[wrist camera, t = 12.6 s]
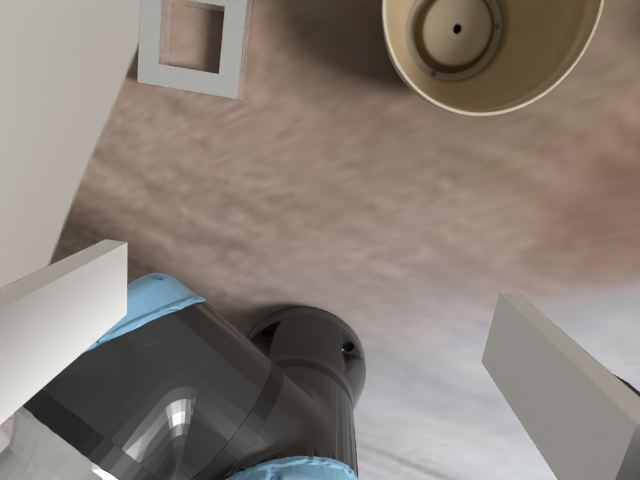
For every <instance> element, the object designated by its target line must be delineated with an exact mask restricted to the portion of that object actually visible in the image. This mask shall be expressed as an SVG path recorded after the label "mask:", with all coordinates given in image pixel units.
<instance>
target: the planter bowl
mask: <svg viewBox="0 0 640 480" xmlns="http://www.w3.org/2000/svg"><path fill="white" fill-rule="evenodd" d="M603 2H604V0H382V26H383V33H384V39H385V44H386V48H387V51H388V54H389V57H390V60H391V62H392V64H393V66H394V68H395V70H396V71H397V73H398V75H399V76H400V78H401V79H402V80H403V82H404V83H405V84H406V85H407V86H408V87H409V88H410V89H411V90H412V91H413V92H414V93H415V94H417V95H418V96H419V97H421V98H422V99H424V100H425V101H427V102H429V103H431V104H433V105H435V106H437V107H439V108H441V109H444V110H446V111H449V112H453V113H457V114H461V115H469V116H489V115H496V114H502V113H506V112H510V111H513V110H516V109H518V108H521V107H523V106H525V105H528V104H530V103H532V102H533V101H535V100H537V99H539V98H540V97H542V96H543V95H545V94H546V93H548V92H549V91H550V90H551V89H553V88H554V87H555V86H556V85H557V84H558V83H560V82H561V81H562V80H563V79H564V78H565V76H566V75H567V74H568V73H569V72H570V71H571V70H572V69H573V67H574V66H575V65H576V63H577V62H578V61H579V59H580V58H581V56H582V55H583V53H584V52H585V50H586V48H587V46H588V45H589V43H590V41H591V39H592V37H593V34H594V32H595V29H596V27H597V24H598V21H599V18H600V15H601V11H602V6H603ZM455 25H460V27H461V30H460V32H459V33H454V27H455Z"/></svg>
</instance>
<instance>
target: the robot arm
mask: <svg viewBox="0 0 640 480" xmlns="http://www.w3.org/2000/svg"><path fill="white" fill-rule="evenodd" d="M482 363H483V365H484V366H485V368H486V370H487V371H488V373H489V374H490V376H491V377H492V379H493V380H494V382H495V383H496V385H497V387H498V388H499V390H500V391H501V393H502V394H503V396H504V397H505V399H506V400H507V402H508V404H509V405H510V407H511V408H512V410H513V411H514V413H515V414H516V416H517V417H518V419H519V421H520V422H521V424H522V425H523V427H524V428H525V430H526V431H527V433H528V434H529V436H530V438H531V439H532V441H533V442H534V444H535V445H536V447H537V448H538V450H539V451H540V453H541V455H542V456H543V458H544V459H545V461H546V462H547V464H548V465H549V467H550V468H551V470H552V471H553V473H554V475H555V476H556V478H557V479H558V480H640V392H638V391H637V390H636V389H635V388H634V387H633V386H631V385H630V384H629V383H628V382H626V381H624V380H622V379H621V378H619V377H617V376H616V375H614V374H612V373H611V372H610V371H609V370H608V369H606V368H605V367H604V366H603V365H602V364H601V363H599V362H598V361H597V360H596V359H595V358H594V357H593V356H591V355H590V354H589V353H588V352H587V351H586V350H584V349H583V348H582V347H581V346H580V345H579V344H577V343H576V342H575V341H574V340H573V339H572V338H570V337H569V336H568V335H567V334H566V333H565V332H563V331H562V330H561V329H560V328H559V327H558V326H557V325H555V324H554V323H553V322H552V321H551V320H550V319H548V318H547V317H546V316H545V315H544V314H543V313H541V312H540V311H539V310H538V309H537V308H536V307H534V306H533V305H532V304H531V303H530V302H529V301H527V300H526V299H525V298H524V297H523V296H522V295H516V294H508V293H501V292H500V293H499V297H498V301H497V305H496V309H495V312H494V316H493V320H492V324H491V328H490V331H489V335H488V339H487V343H486V347H485V351H484V354H483V358H482ZM365 376H366V367H365V358H364V352H363V348H362V345H361V343H360V341H359V339H358V337H357V336H356V334H355V333H354V331H353V330H352V329H351V328H350V327H349V326H348V325H347V324H346V323H345V322H344V321H343V320H341V319H340V318H338V317H337V316H335V315H333V314H331V313H329V312H326V311H323V310H320V309H316V308H310V307H294V308H288V309H284V310H280V311H278V312H275V313H273V314H271V315H269V316H268V317H266V318H265V319H264V320H262V321H261V322H260V323H259V324H258V325H257V326H256V327H255V328H254V329H253V331H252V332H251V334H250V335H249V337H248V339H247V338H246V337H245V336H244V335H243V334H242V333H241V332H239V331H238V330H237V329H236V328H235V327H234V326H232V325H231V324H230V323H229V322H228V321H227V320H226V319H224V318H223V317H222V316H221V315H220V314H219V313H218V312H217V311H215V310H214V309H213V308H212V307H211V306H210V305H209V304H208V303H207V302H206V299H205V298H204V297H202V296H198V295H197V294H196V293H194V292H193V291H192V290H190V289H189V288H188V287H186V286H185V285H184V284H182V283H181V282H180V281H179V280H177V279H176V278H175V277H173V276H172V275H169V274H166V273H159V272H157V273H151V274H147V275H145V276H142V277H140V278H138V279H136V280H134V281H132V282H130V283H128V284H127V242H122V241H114V240H107V239H105V240H103V241H101V242H99V243H97V244H95V245H92V246H90V247H88V248H86V249H84V250H82V251H79V252H77V253H75V254H73V255H71V256H69V257H66V258H64V259H62V260H60V261H58V262H56V263H54V264H51V265H49V266H47V267H45V268H43V269H41V270H38V271H36V272H34V273H32V274H30V275H28V276H25V277H23V278H21V279H19V280H17V281H15V282H13V283H10V284H8V285H6V286H4V287H2V288H0V424H2V423H3V422H4V421H5V420H6V419H7V418H8V417H10V416H11V415H12V414H13V413H14V424H13V435H12V437H11V440H10V443H9V445H8V446H7V447H6V448H5V449H4V450H3V451H2V452H1V453H0V480H359V479H358V466H357V454H356V441H355V428H354V415H353V410H354V408H355V406H356V403H357V401H358V399H359V397H360V395H361V392H362V390H363V387H364V383H365Z"/></svg>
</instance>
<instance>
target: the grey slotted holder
mask: <svg viewBox="0 0 640 480" xmlns="http://www.w3.org/2000/svg"><path fill="white" fill-rule="evenodd" d="M172 4H177V5H183V6H189V7H195V8H201V9H207V10H213V11H219V12H224V23H223V35H222V46H221V57H220V68H219V74H216V73H210V72H204V71H198V70H192V69H186V68H180V67H174V66H169V54H170V36H171V19H172ZM252 7H253V0H141V3H140V29H139V53H138V79H137V82H140V83H144V84H148V85H154V86H160V87H165V88H171V89H177V90H183V91H189V92H195V93H201V94H207V95H213V96H219V97H225V98H231V99H236V100H242V101H243V93H244V83H245V74H246V64H247V55H248V45H249V36H250V26H251V17H252Z"/></svg>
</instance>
